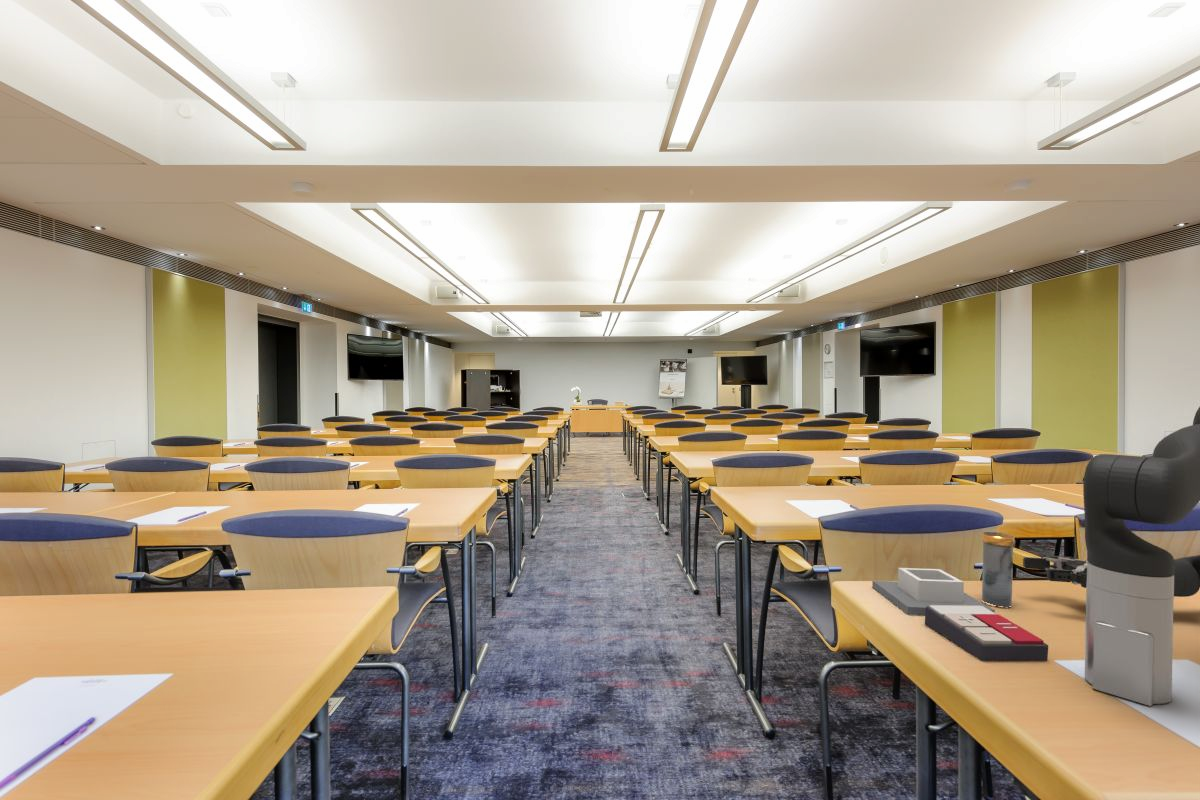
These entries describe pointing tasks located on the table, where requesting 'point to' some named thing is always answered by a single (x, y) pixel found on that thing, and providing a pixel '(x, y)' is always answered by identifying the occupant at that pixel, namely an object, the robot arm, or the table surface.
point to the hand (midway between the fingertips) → (1035, 568)
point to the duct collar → (925, 590)
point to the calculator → (985, 633)
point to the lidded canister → (997, 568)
